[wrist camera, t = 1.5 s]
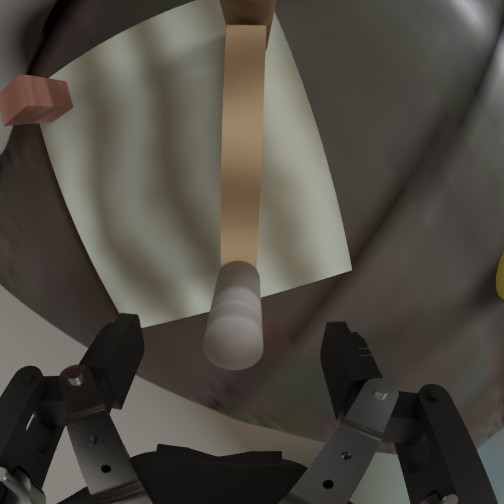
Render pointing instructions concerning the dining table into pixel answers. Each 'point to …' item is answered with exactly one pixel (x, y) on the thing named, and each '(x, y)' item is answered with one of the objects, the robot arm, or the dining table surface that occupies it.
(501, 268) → the handbell
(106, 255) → the towel on rod
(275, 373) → the dining table surface
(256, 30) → the wooden panel
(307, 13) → the dining table surface
